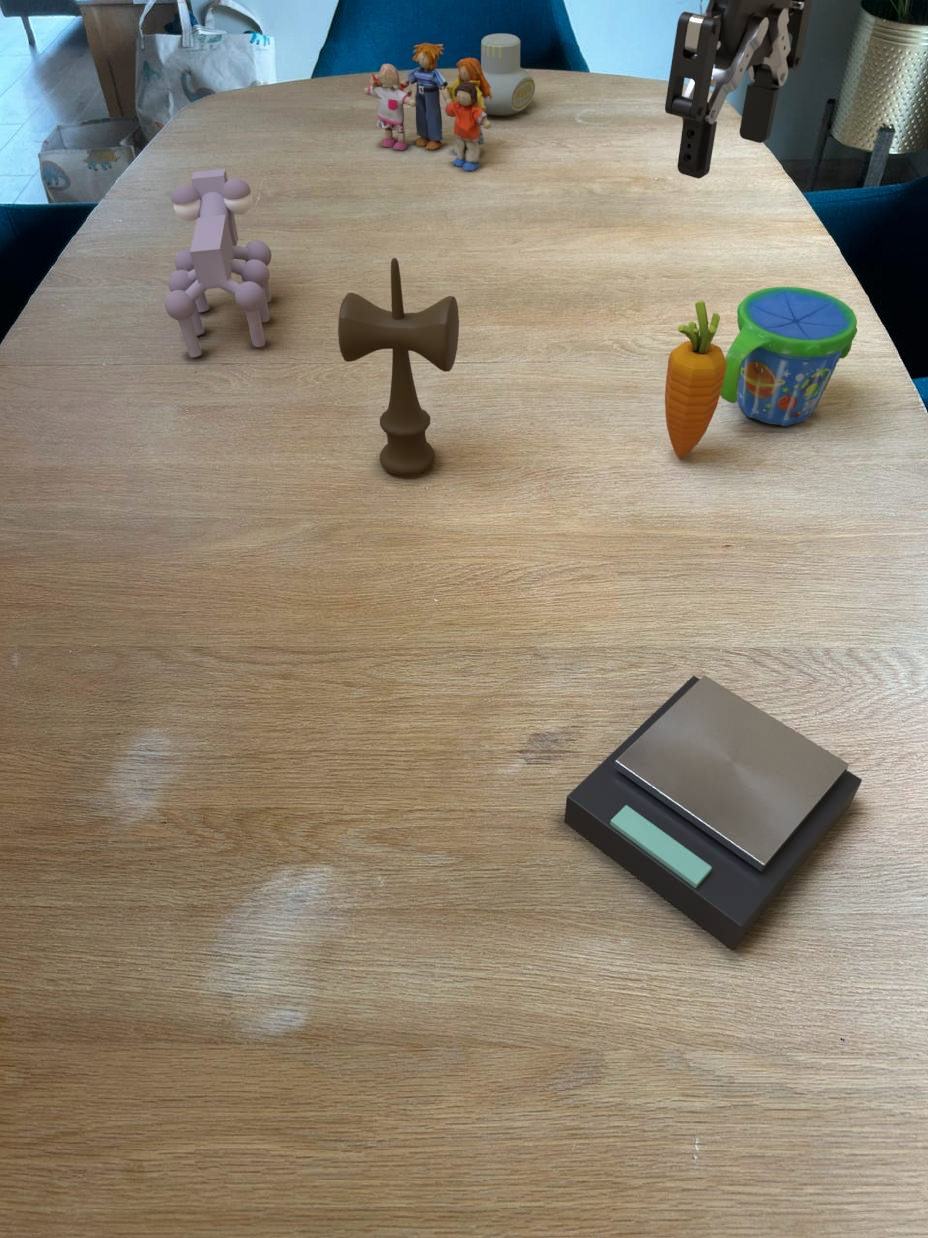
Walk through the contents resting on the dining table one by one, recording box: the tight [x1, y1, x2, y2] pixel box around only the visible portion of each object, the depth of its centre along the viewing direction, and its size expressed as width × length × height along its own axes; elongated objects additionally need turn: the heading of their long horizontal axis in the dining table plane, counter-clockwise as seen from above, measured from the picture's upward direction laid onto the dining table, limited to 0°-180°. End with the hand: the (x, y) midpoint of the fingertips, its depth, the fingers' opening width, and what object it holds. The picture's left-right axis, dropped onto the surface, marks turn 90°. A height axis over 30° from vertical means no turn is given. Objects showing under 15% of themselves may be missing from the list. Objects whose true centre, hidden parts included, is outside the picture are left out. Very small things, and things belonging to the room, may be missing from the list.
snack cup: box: [719, 286, 858, 427], centre depth 95 cm, size 16×10×10 cm
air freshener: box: [480, 33, 536, 117], centre depth 153 cm, size 11×8×10 cm
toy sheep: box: [164, 168, 272, 358], centre depth 108 cm, size 20×11×14 cm, turn 5°
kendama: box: [337, 257, 460, 476], centre depth 86 cm, size 6×10×20 cm, turn 81°
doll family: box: [363, 42, 493, 172], centre depth 141 cm, size 21×10×13 cm, turn 55°
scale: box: [563, 675, 863, 951], centre depth 65 cm, size 14×13×4 cm
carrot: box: [664, 300, 727, 459], centre depth 88 cm, size 5×5×15 cm
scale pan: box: [614, 675, 850, 872], centre depth 64 cm, size 10×11×1 cm
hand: (724, 156), depth 73 cm, fingers open, 8 cm apart
